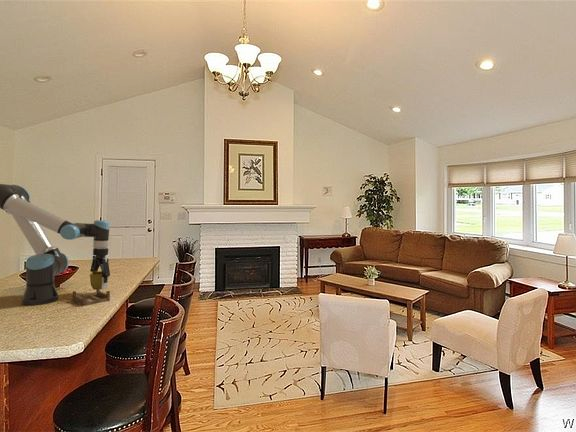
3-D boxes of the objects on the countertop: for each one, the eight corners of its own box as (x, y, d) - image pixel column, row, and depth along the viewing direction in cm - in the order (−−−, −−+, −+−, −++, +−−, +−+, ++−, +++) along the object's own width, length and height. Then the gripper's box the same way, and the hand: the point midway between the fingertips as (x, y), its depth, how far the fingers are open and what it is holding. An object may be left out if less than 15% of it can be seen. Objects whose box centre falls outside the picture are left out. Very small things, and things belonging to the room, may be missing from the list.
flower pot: (107, 290, 191) (107, 274, 191) (89, 290, 188) (89, 274, 188) (108, 286, 199) (109, 271, 199) (91, 287, 196) (92, 271, 196)
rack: (83, 305, 170) (83, 295, 170) (72, 301, 178) (72, 291, 177) (109, 300, 180) (109, 291, 180) (98, 296, 188) (98, 287, 188)
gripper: (117, 249, 189) (116, 289, 189) (98, 245, 203) (96, 282, 204) (103, 250, 183) (102, 291, 184) (84, 246, 198) (83, 283, 198)
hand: (99, 286), depth 194 cm, fingers closed on flower pot, 11 cm apart
